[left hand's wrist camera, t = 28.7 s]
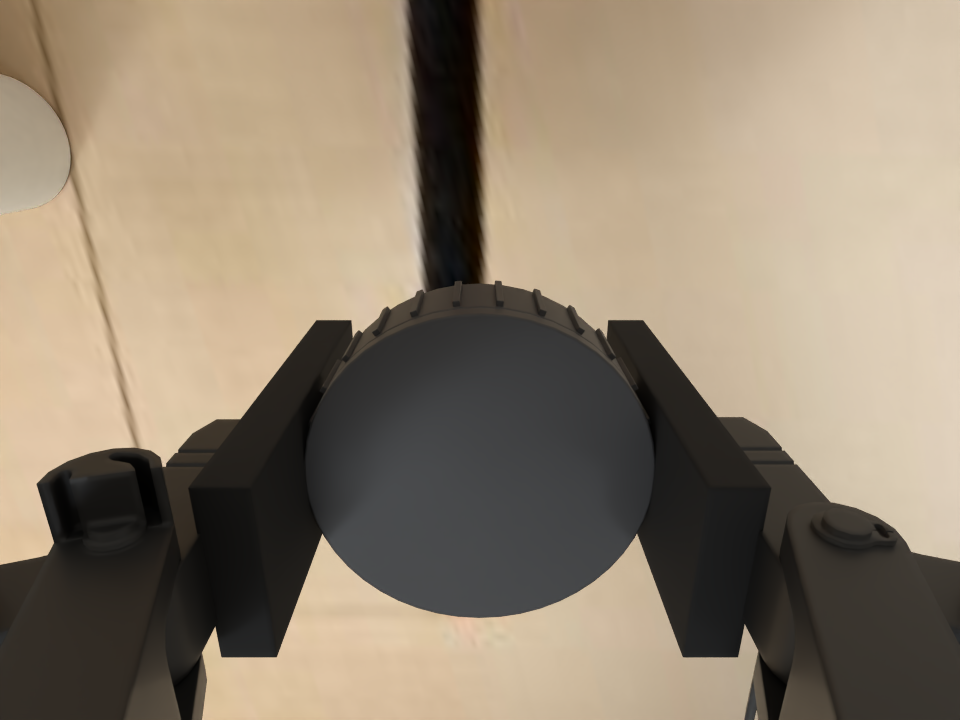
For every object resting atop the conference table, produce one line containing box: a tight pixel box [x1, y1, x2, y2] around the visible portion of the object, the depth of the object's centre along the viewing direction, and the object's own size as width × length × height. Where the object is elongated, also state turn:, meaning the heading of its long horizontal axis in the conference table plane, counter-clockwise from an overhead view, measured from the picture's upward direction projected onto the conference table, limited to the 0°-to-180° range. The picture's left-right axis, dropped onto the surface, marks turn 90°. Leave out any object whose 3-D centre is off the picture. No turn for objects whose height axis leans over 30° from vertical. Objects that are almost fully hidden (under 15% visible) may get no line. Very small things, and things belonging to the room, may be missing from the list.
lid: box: [304, 281, 655, 618], centre depth 11 cm, size 6×6×2 cm
